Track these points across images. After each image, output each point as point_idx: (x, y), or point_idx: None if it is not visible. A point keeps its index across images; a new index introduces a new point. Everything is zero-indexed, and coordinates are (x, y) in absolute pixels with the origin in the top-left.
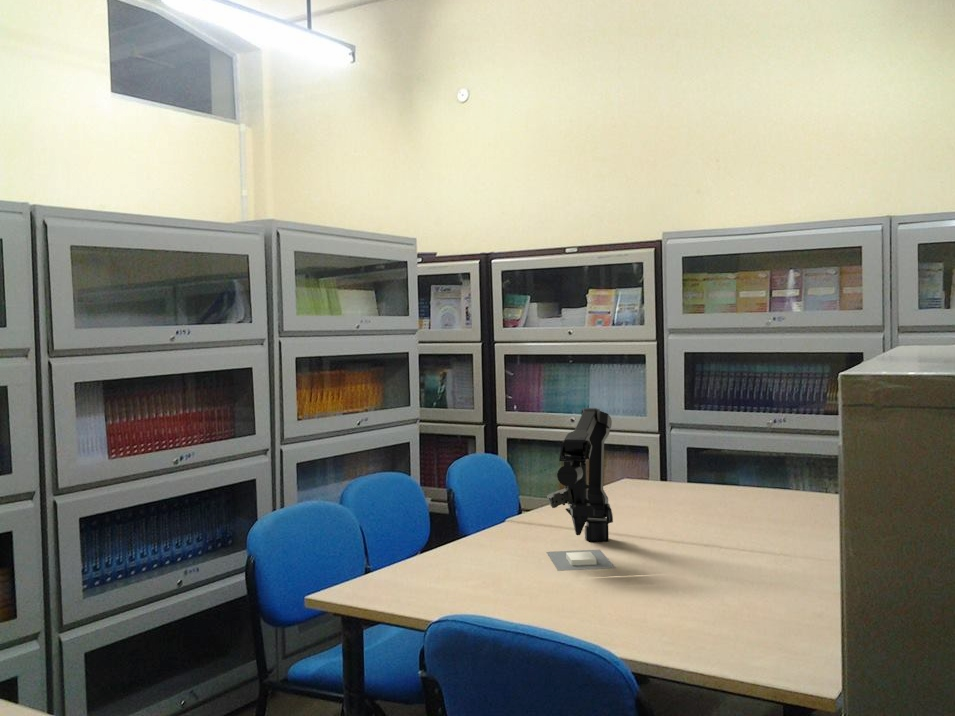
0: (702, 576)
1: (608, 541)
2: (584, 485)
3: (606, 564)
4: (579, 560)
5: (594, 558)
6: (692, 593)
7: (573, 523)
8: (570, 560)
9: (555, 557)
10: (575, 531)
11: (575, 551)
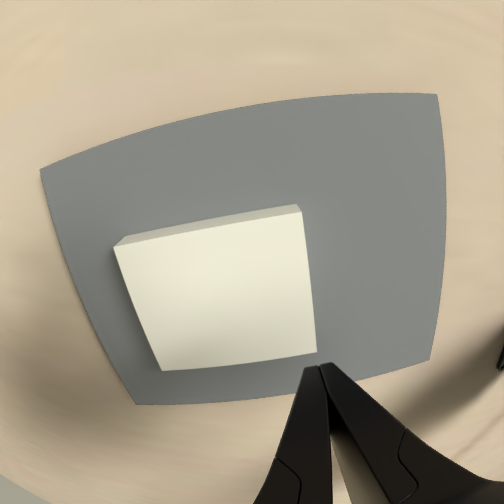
0: (145, 499)
1: (500, 368)
2: None
3: (178, 385)
4: (129, 291)
5: (170, 364)
6: (36, 454)
7: (375, 433)
8: (143, 237)
9: (312, 134)
10: (327, 381)
11: (429, 260)
